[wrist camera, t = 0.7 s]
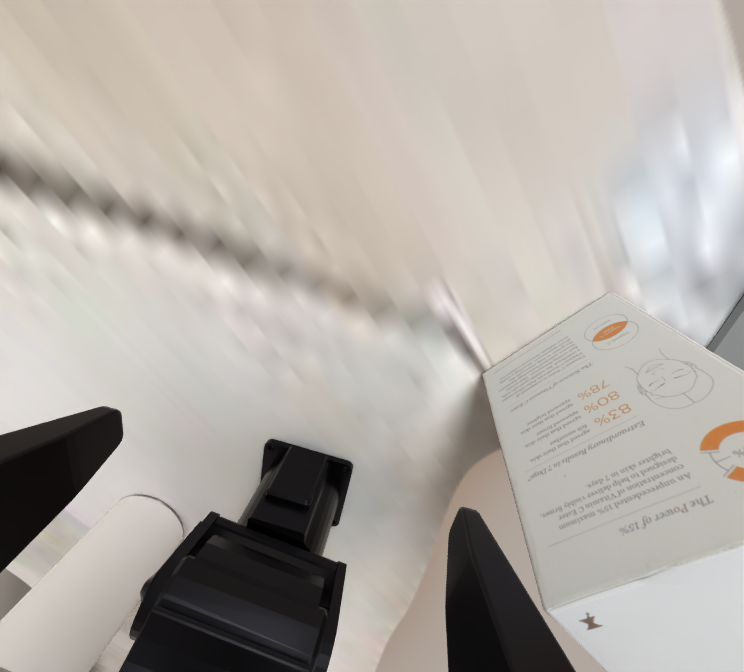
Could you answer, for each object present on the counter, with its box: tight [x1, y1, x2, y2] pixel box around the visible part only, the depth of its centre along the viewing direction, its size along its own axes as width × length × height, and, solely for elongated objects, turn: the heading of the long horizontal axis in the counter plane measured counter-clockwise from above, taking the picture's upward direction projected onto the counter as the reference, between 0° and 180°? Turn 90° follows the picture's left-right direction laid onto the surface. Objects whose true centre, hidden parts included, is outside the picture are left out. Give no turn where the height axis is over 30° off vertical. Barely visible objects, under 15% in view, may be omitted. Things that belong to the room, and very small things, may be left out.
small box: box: [482, 292, 744, 672], centre depth 14 cm, size 8×6×13 cm
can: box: [0, 495, 183, 672], centre depth 26 cm, size 6×6×12 cm
